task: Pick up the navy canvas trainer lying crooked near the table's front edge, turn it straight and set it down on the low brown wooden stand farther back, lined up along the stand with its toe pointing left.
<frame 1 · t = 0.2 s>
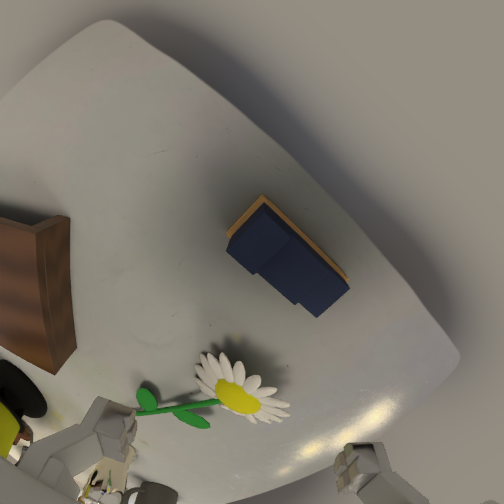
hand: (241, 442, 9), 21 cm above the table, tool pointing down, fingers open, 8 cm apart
decorative flower: (184, 394, 37), on the table
cup and saucer: (16, 419, 47), on the table
apple: (95, 493, 58), on the table
lantern: (19, 386, 41), on the table
trainer: (289, 254, 29), on the table
brown wooden stand: (12, 268, 32), on the table
beer glass: (122, 446, 44), on the table
mug: (153, 485, 49), on the table
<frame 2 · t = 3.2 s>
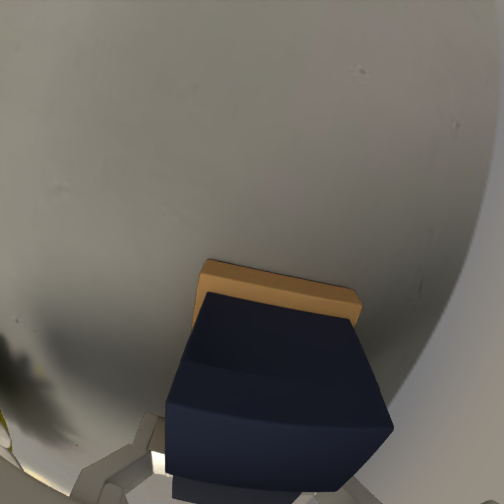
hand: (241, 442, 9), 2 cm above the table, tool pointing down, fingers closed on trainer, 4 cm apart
trainer: (246, 400, 12), on the table, touching gripper
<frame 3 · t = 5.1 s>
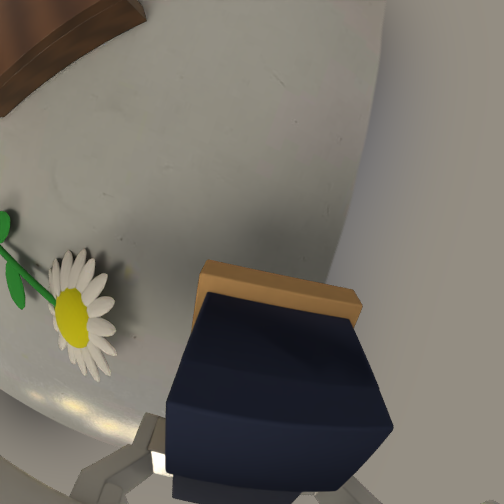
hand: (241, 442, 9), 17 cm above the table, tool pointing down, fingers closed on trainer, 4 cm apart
decorative flower: (31, 259, 26), on the table
trainer: (246, 400, 12), point 15 cm above the table, touching gripper
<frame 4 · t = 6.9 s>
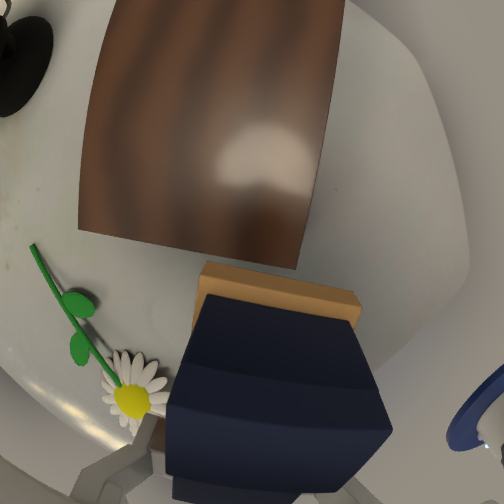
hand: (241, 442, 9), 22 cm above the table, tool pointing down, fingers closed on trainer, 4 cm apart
decorative flower: (98, 333, 35), on the table
lantern: (17, 64, 23), on the table
trainer: (245, 401, 12), point 19 cm above the table, touching gripper
brown wooden stand: (212, 111, 26), on the table
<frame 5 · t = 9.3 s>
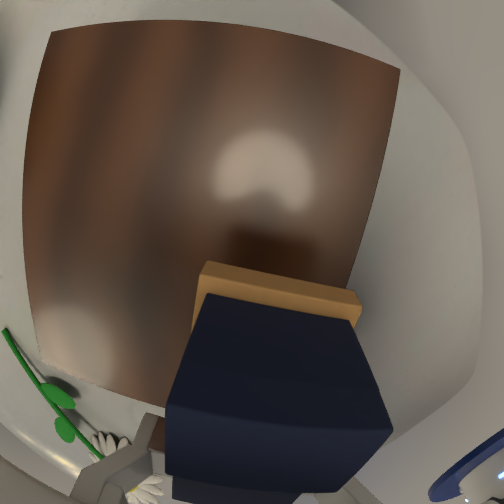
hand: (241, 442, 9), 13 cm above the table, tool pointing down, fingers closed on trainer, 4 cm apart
decorative flower: (81, 415, 29), on the table
trainer: (245, 400, 12), point 11 cm above the table, touching gripper
brown wooden stand: (188, 220, 20), on the table
when the fingers open (9 cm above the table, at t = 10.7 s): trainer stays where it is, resting on brown wooden stand.
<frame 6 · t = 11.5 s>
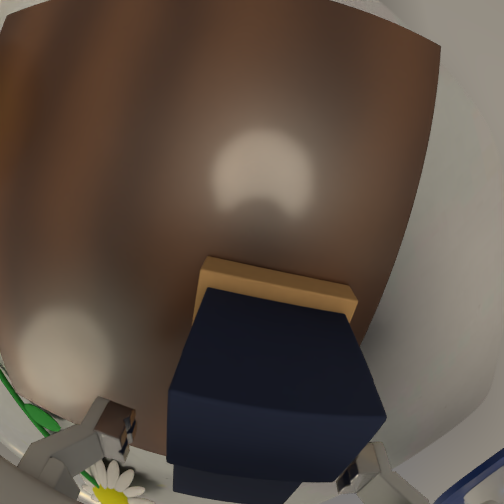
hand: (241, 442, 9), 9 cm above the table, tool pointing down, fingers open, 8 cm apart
decorative flower: (69, 436, 25), on the table
trainer: (245, 394, 12), point 6 cm above the table, touching brown wooden stand
brown wooden stand: (169, 236, 17), on the table
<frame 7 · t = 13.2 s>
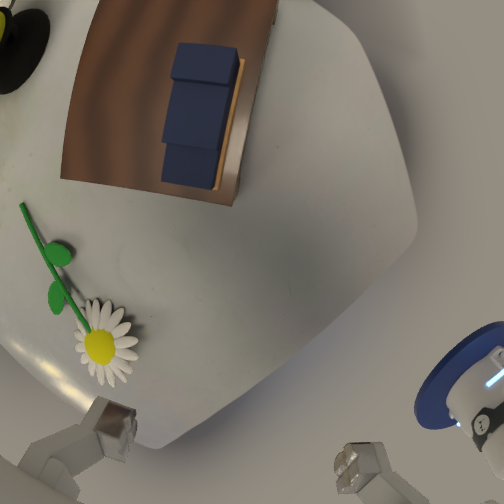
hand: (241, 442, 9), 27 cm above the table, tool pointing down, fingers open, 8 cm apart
decorative flower: (73, 283, 38), on the table
lantern: (18, 49, 25), on the table
trainer: (204, 119, 24), point 6 cm above the table, touching brown wooden stand
brown wooden stand: (174, 85, 29), on the table
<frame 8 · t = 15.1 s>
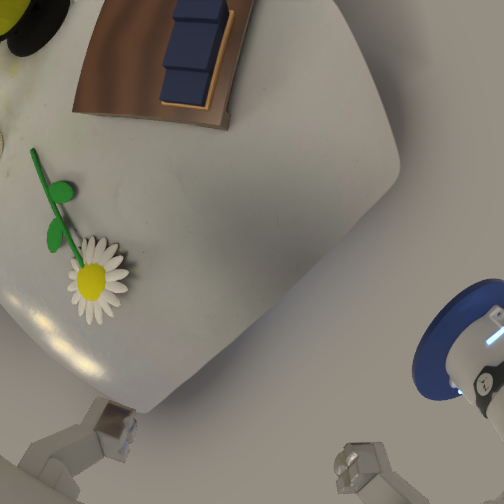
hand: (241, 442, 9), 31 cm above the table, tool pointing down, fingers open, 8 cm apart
decorative flower: (73, 223, 40), on the table
lantern: (40, 19, 28), on the table
trainer: (199, 57, 26), point 6 cm above the table, touching brown wooden stand
brown wooden stand: (176, 41, 31), on the table
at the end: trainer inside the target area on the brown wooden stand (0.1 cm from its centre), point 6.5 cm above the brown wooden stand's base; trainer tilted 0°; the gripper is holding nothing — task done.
